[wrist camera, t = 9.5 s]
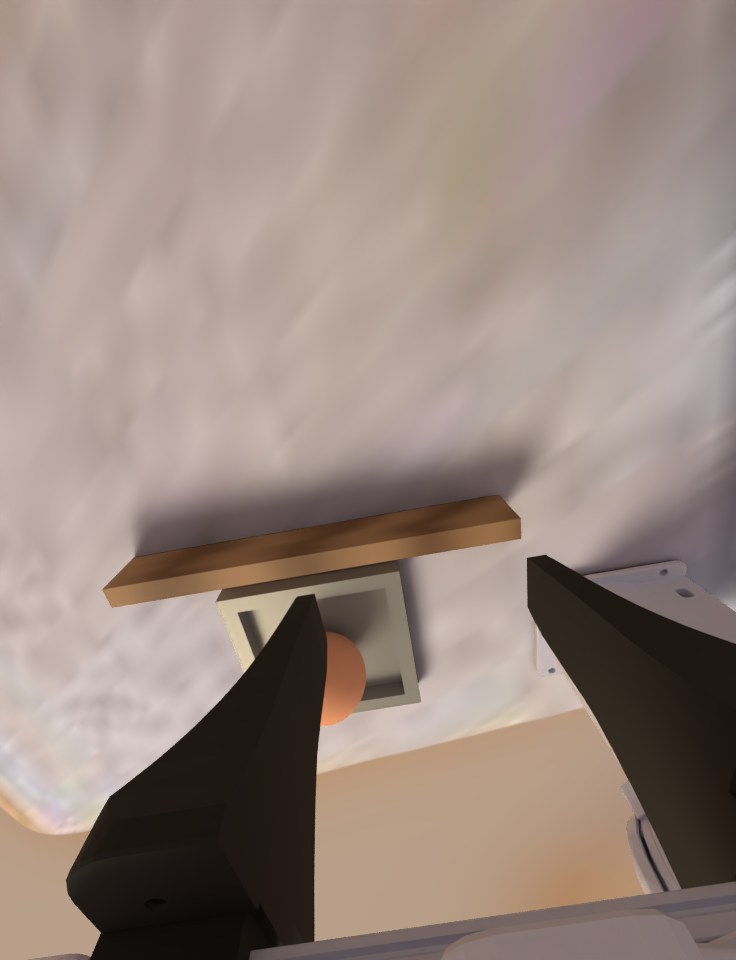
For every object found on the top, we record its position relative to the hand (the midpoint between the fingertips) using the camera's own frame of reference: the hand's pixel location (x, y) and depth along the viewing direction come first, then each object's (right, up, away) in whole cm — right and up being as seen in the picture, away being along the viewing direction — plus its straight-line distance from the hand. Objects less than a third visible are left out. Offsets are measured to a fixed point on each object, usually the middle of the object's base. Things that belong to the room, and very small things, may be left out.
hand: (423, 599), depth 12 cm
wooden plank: (-5, +1, +10) cm, 11 cm away
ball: (-4, -8, +10) cm, 13 cm away
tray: (-5, -7, +13) cm, 15 cm away
